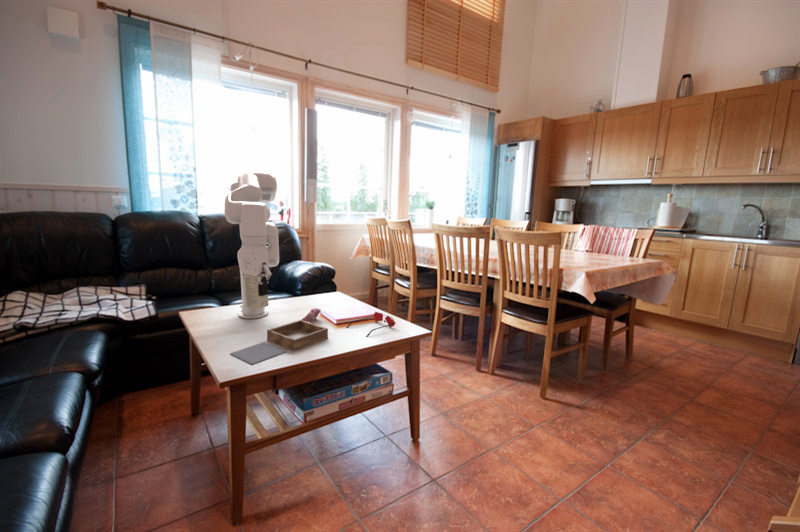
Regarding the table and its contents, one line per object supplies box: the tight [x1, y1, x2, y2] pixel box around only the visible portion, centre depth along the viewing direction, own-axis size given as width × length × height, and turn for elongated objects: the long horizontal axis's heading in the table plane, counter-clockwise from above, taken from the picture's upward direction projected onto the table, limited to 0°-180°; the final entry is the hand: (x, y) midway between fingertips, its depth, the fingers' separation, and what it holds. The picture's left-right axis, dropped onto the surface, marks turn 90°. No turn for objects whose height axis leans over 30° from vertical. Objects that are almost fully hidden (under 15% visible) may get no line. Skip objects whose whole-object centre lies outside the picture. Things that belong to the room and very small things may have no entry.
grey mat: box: [230, 341, 286, 366], centre depth 126 cm, size 13×13×1 cm
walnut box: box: [266, 319, 329, 352], centre depth 140 cm, size 16×16×4 cm
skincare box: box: [244, 273, 269, 309], centre depth 122 cm, size 6×4×12 cm
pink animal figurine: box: [301, 307, 321, 323], centre depth 160 cm, size 10×5×7 cm, turn 169°
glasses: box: [346, 311, 397, 338], centre depth 154 cm, size 14×16×5 cm
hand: (256, 292), depth 123 cm, fingers closed on skincare box, 7 cm apart
